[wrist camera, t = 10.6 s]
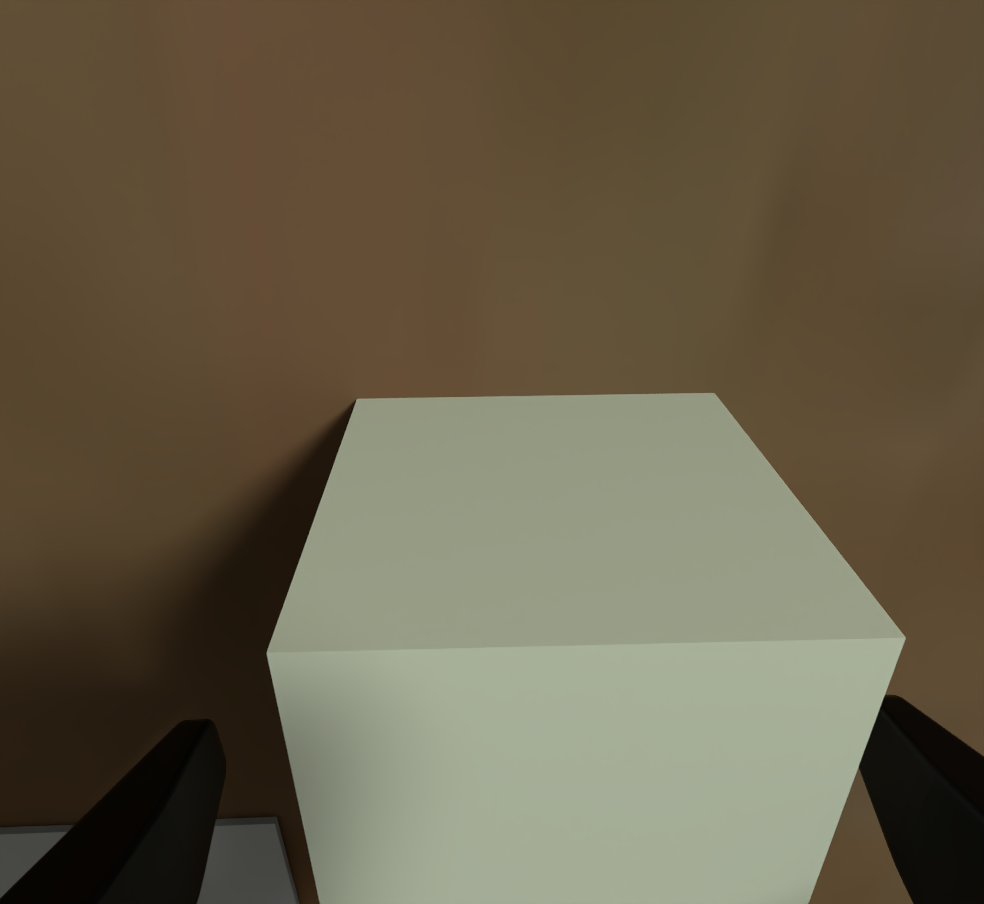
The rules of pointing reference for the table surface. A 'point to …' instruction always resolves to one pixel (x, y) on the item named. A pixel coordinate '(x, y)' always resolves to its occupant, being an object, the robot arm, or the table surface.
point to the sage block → (570, 659)
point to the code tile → (229, 871)
